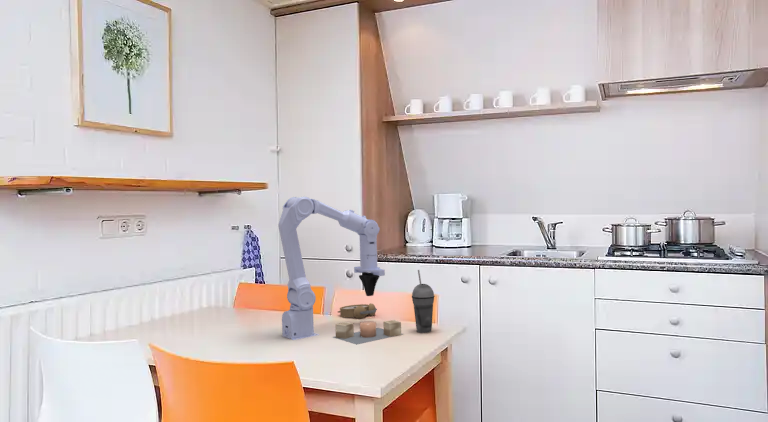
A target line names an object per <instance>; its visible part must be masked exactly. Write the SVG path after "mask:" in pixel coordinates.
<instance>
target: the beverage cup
mask: <svg viewBox="0 0 768 422" xmlns="http://www.w3.org/2000/svg"><path fill="white" fill-rule="evenodd" d="M417 274H418V281H419V284H417V285H416V286H415V287H414V288H413V290H412V292H411V298H412V304H413V310H414V318H415V319H414V321H415V327H416V332H417V333H420V334H426V333H427V334H429V333H431V332H432V329H433V315H434V314H433V313H434V312H433V311H434V302H435V297H436V296H435V292H434V290H433V288H432V287H431V286H430V285H429V284H427V283H422V278H421V273H420V269H417Z"/></svg>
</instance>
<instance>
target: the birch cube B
mask: <svg viewBox="0 0 768 422" xmlns="http://www.w3.org/2000/svg"><path fill="white" fill-rule="evenodd" d="M383 329H384V335H387V336H389V338H393V337H392V336H394V337H398V335H399V336H402V335H401V333H402V322H401V321H399V320H396V319H392V320H391V319H390V320H385V321H383Z"/></svg>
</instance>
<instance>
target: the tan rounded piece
mask: <svg viewBox="0 0 768 422" xmlns="http://www.w3.org/2000/svg"><path fill="white" fill-rule="evenodd" d="M376 328H377V322H376V321H374V320H364V321H360V322H359V332H360V336H361V337H366V338H368V337H375V336H376Z"/></svg>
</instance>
